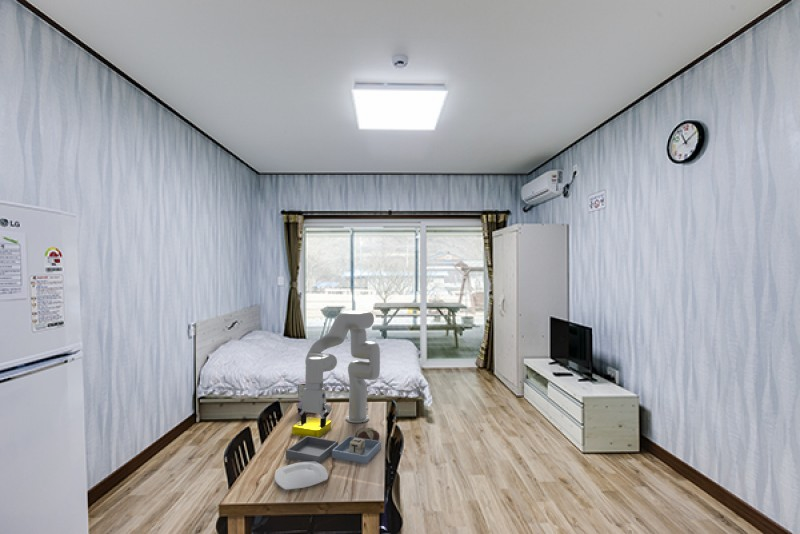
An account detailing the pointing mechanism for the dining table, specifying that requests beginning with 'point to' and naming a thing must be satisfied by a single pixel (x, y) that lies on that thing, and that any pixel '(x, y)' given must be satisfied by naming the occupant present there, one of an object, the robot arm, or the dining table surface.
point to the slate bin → (343, 453)
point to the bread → (367, 434)
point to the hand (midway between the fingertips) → (313, 425)
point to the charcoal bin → (311, 449)
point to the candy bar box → (301, 393)
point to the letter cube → (357, 446)
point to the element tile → (311, 428)
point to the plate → (300, 475)
